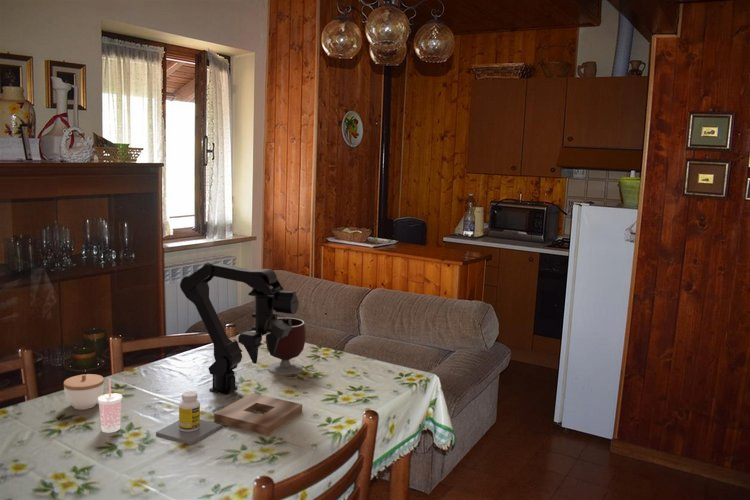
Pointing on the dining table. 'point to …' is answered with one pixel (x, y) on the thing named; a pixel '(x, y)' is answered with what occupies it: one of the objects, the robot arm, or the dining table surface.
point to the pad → (188, 437)
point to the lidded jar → (83, 390)
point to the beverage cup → (110, 411)
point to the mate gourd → (289, 349)
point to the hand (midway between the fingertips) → (263, 359)
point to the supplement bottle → (189, 412)
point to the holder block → (265, 424)
